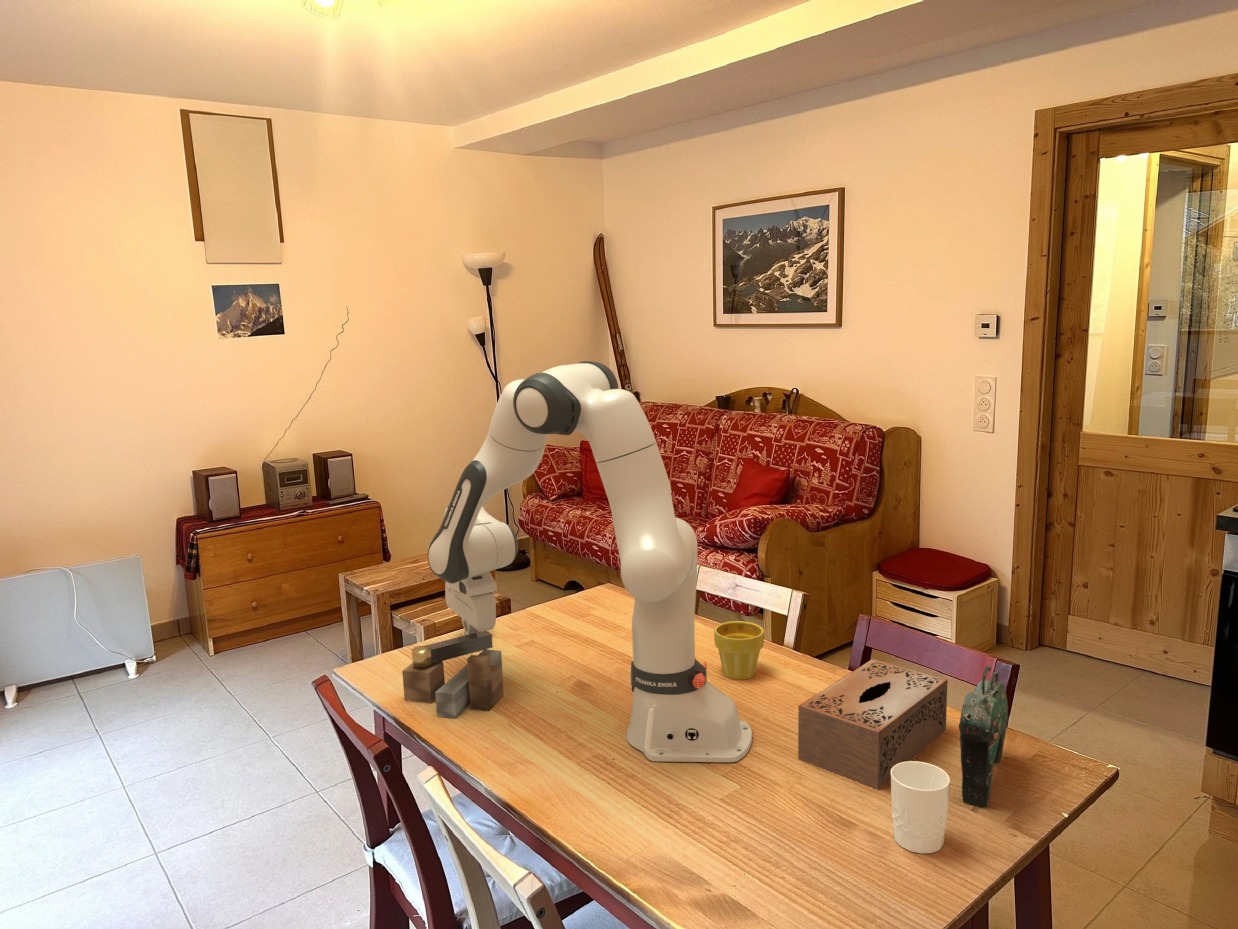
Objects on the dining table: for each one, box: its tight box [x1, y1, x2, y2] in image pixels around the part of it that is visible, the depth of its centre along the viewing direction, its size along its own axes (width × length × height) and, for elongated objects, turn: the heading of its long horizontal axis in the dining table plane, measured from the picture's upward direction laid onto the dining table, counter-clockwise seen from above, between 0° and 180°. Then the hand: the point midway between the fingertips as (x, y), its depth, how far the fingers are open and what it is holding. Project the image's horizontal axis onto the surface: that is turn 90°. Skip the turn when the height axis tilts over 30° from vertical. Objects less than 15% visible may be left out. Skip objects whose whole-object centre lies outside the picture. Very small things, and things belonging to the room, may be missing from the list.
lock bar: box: [411, 630, 494, 667], centre depth 176 cm, size 17×4×3 cm, turn 125°
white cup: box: [890, 760, 951, 854], centre depth 120 cm, size 8×8×10 cm
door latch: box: [401, 649, 504, 719], centre depth 174 cm, size 19×22×10 cm
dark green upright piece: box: [958, 665, 1009, 809], centre depth 134 cm, size 20×6×20 cm, turn 147°
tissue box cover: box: [797, 658, 949, 790], centre depth 147 cm, size 26×14×10 cm, turn 136°
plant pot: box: [713, 620, 765, 680], centre depth 178 cm, size 10×10×10 cm
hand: (470, 638), depth 181 cm, fingers closed
